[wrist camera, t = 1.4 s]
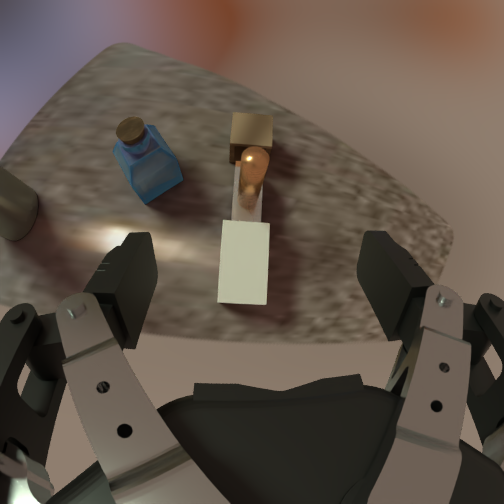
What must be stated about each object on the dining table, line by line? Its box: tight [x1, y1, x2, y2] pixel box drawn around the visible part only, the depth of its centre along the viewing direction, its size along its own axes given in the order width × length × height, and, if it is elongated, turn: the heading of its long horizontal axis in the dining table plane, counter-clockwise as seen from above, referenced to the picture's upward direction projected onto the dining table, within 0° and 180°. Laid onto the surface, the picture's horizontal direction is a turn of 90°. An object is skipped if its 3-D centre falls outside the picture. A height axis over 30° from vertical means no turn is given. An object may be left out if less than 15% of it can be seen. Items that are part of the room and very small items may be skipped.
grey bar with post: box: [231, 146, 269, 223], centre depth 30 cm, size 3×16×13 cm, turn 177°
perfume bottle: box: [113, 117, 183, 204], centre depth 32 cm, size 6×6×12 cm
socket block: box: [229, 112, 273, 163], centre depth 37 cm, size 5×5×5 cm
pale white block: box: [218, 220, 270, 305], centre depth 34 cm, size 5×9×5 cm, turn 177°
